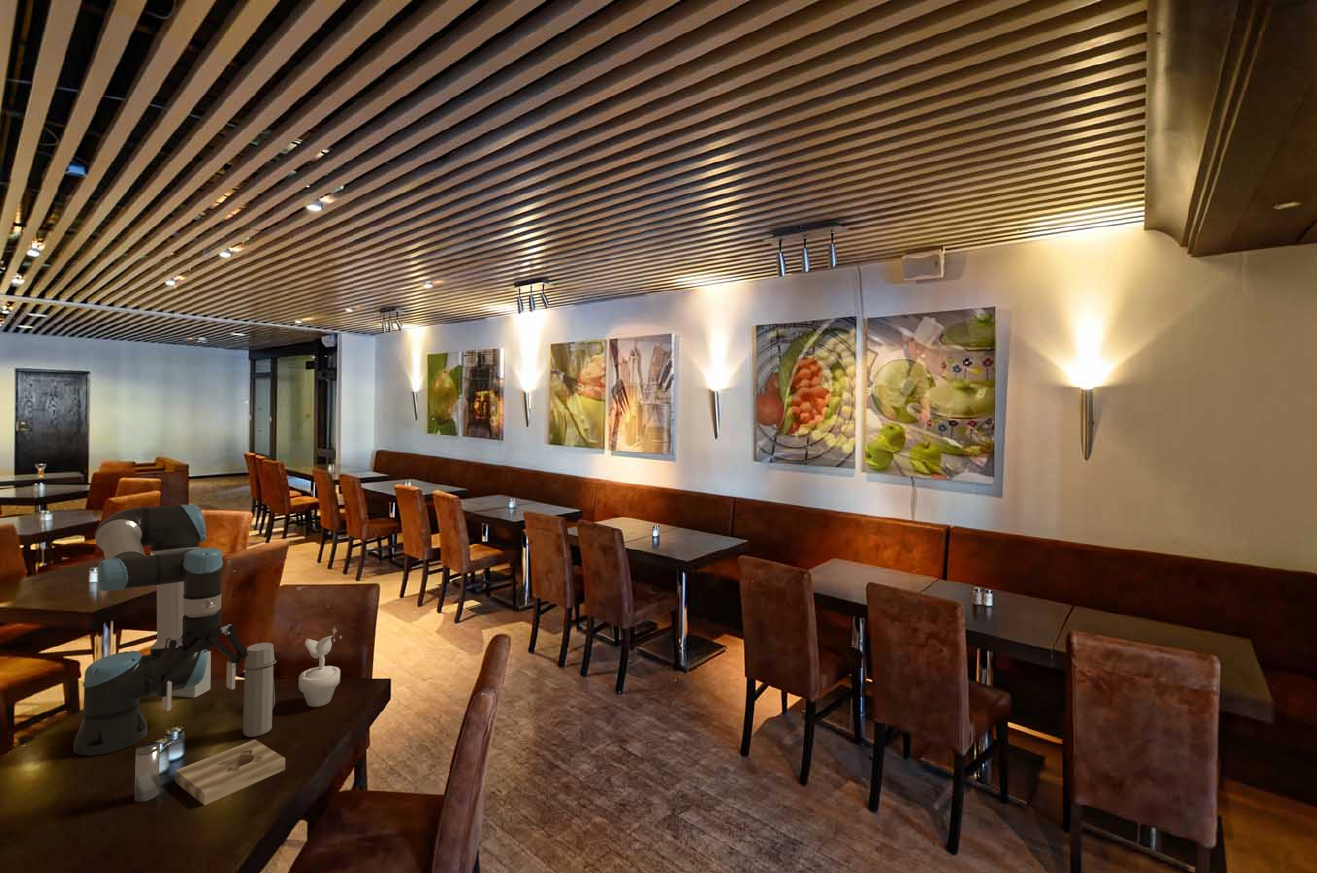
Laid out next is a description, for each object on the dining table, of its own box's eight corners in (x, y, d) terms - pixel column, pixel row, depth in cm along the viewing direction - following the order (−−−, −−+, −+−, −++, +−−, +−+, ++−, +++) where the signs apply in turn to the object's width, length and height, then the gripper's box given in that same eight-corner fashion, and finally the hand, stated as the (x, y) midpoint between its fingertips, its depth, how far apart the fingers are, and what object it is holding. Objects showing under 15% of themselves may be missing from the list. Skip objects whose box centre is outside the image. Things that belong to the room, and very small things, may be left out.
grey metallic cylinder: (131, 797, 143) (132, 747, 142) (154, 788, 146) (155, 739, 146) (138, 804, 140) (139, 753, 140) (161, 794, 144) (163, 745, 144)
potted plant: (346, 701, 194) (349, 625, 194) (310, 715, 185) (312, 634, 184) (325, 690, 201) (327, 617, 201) (289, 703, 191) (291, 626, 191)
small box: (210, 689, 199) (211, 650, 199) (194, 698, 193) (195, 658, 192) (188, 687, 200) (189, 649, 200) (171, 696, 193) (172, 656, 193)
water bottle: (258, 740, 169) (260, 652, 169) (234, 736, 171) (237, 649, 170) (284, 724, 178) (286, 641, 178) (262, 721, 180) (264, 638, 179)
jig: (175, 782, 149) (175, 770, 149) (254, 750, 164) (254, 739, 164) (204, 805, 140) (204, 793, 140) (285, 769, 156) (285, 758, 156)
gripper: (146, 630, 134) (143, 723, 134) (264, 603, 156) (262, 683, 156) (131, 623, 138) (129, 714, 138) (249, 597, 159) (246, 676, 160)
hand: (199, 698), depth 147 cm, fingers open, 13 cm apart
